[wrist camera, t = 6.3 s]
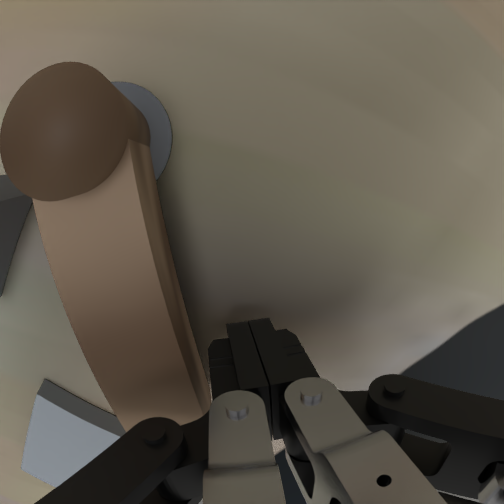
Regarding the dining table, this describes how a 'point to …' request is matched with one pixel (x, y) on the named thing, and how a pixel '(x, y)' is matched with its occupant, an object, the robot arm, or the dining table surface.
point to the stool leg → (106, 239)
